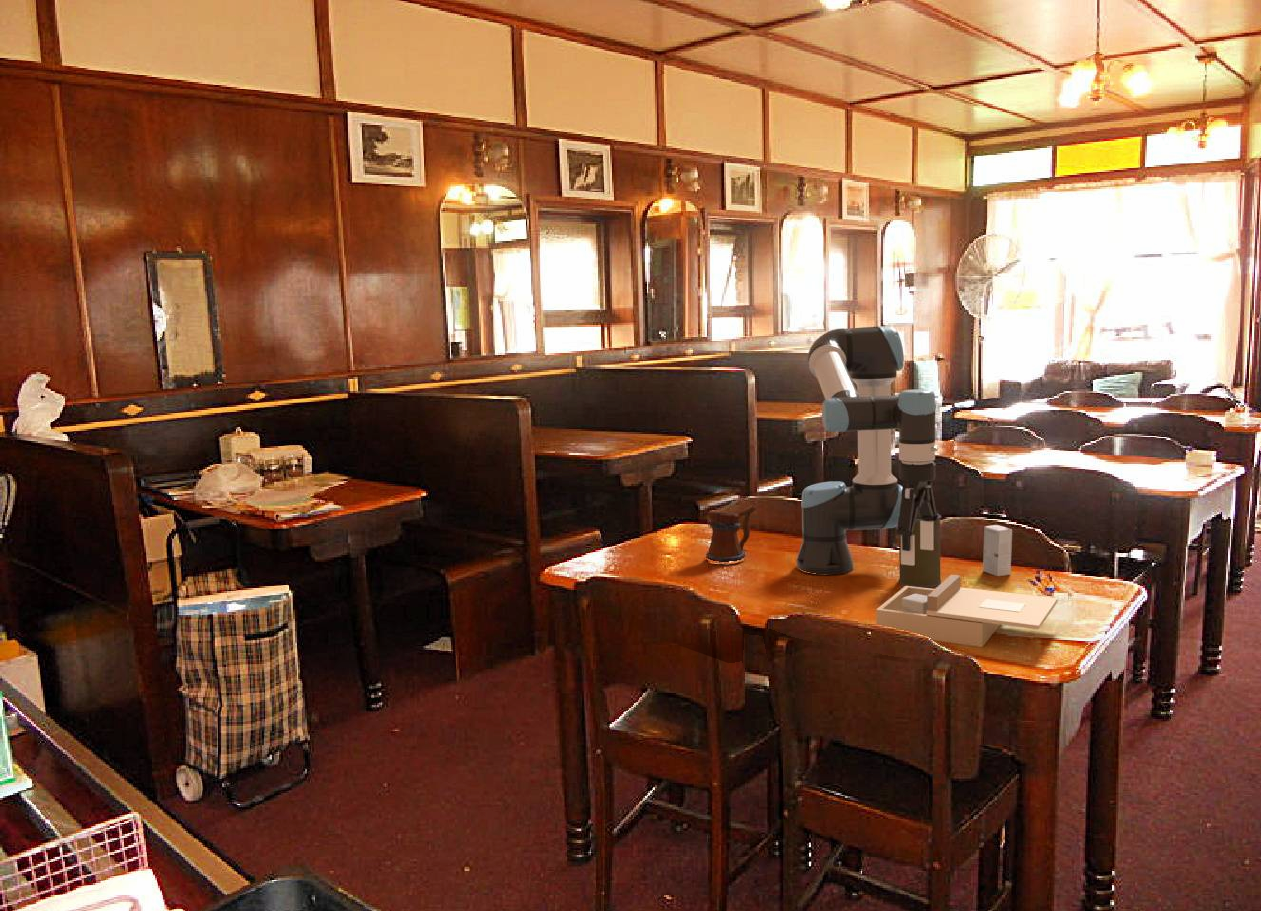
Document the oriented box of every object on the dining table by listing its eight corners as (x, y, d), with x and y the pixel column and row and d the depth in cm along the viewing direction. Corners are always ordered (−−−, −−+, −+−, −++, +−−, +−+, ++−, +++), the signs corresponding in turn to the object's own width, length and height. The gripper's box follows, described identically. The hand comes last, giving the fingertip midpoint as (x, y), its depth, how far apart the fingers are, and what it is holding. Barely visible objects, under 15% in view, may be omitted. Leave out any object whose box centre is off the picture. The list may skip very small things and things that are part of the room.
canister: (919, 590, 230) (918, 511, 227) (889, 581, 239) (888, 504, 236) (951, 583, 235) (951, 505, 232) (921, 574, 244) (920, 499, 241)
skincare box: (982, 571, 244) (982, 526, 242) (996, 569, 245) (996, 524, 243) (997, 577, 238) (998, 530, 236) (1012, 574, 239) (1012, 528, 238)
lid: (925, 614, 195) (925, 597, 194) (952, 589, 211) (952, 573, 211) (1038, 629, 183) (1038, 610, 182) (1057, 601, 199) (1057, 584, 198)
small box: (938, 618, 206) (937, 597, 205) (923, 624, 202) (922, 603, 202) (915, 613, 210) (915, 592, 209) (900, 619, 207) (900, 597, 206)
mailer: (876, 631, 202) (876, 609, 201) (905, 606, 218) (905, 585, 217) (982, 647, 189) (982, 623, 189) (1004, 619, 206) (1004, 597, 205)
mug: (741, 549, 280) (739, 500, 278) (769, 555, 271) (768, 505, 269) (697, 561, 269) (695, 510, 267) (725, 568, 260) (723, 515, 258)
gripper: (916, 472, 189) (917, 573, 192) (950, 453, 209) (950, 545, 213) (880, 470, 193) (881, 569, 197) (917, 451, 214) (917, 541, 217)
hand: (917, 556), depth 205 cm, fingers open, 13 cm apart
